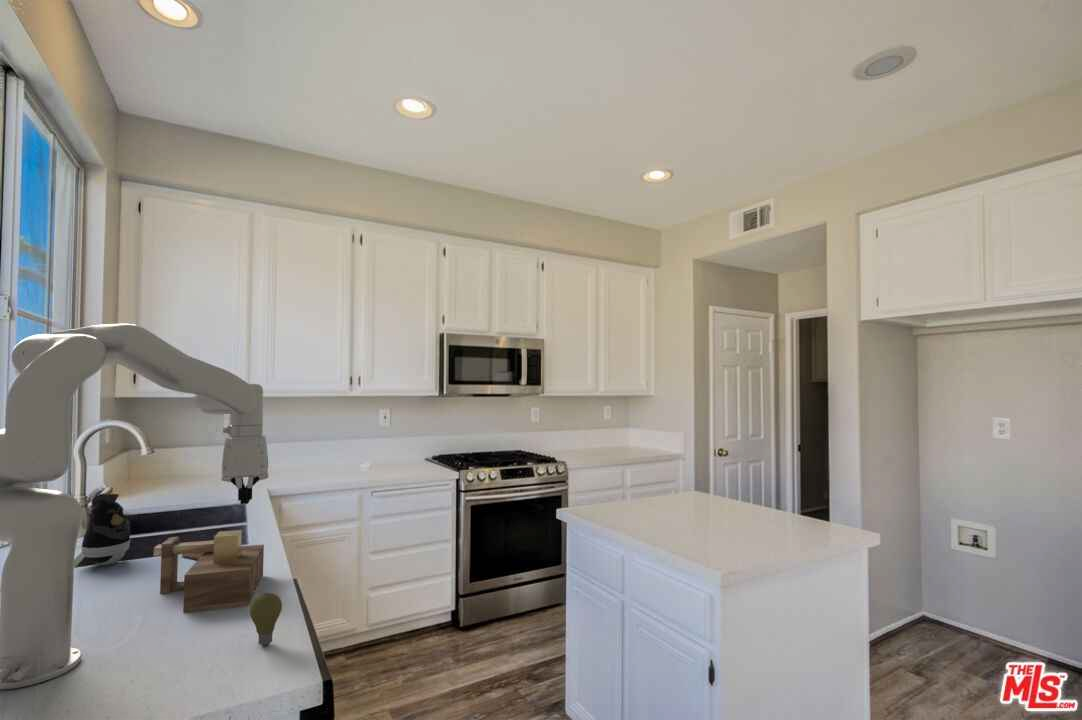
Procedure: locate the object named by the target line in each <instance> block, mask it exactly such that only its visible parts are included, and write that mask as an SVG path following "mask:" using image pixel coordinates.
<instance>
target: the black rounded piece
mask: <svg viewBox="0 0 1082 720" xmlns="http://www.w3.org/2000/svg"><path fill="white" fill-rule="evenodd" d="M118 498H119V493H118V494H117V493H109V492H108V493H107V492H106V493H105V492H104V493H99V494H97V495H95V496H94V497H93V498H92V500H91V506H92V508H91V511H90V513H89V514H87V515H88V517H89V523H88V526H87V529H86V530H85V533H84V535H83V538H82V542H81V546H80V549H81V555H82V556H83V557H85V558H86V559H87V560H89V562H91V563H93V564H94V563H95V564H96V565H98V566H110V565H112V564H114V563H117V562H119V561H120V560H121V559H123V557H124V556H125V554H126V552H127V551H128V550H129V548H130V544H131V536H130V535H131V526H130V525H131V522H130V520H128V519H127V518H126V516H125V514H124V507H123V506H122V505H121V504H120V503H119V502H116V500H117V499H118Z"/></svg>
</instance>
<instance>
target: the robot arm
mask: <svg viewBox="0 0 1082 720" xmlns="http://www.w3.org/2000/svg"><path fill="white" fill-rule="evenodd" d="M11 363H12V365H13V367H14V368H15V369H16V371H18V372H19V373H20V374H18V376H17V377H16V379H15V380H14V382H13V383H12V385H11V387H10V389H9V391H8V393H7V397H6V402H5V403H6V404H5V417H4V419H5V420H4V421H5V422H4V424H5V425H4V428H1V429H0V542H4V543H5V542H6V543H11V547H10V550H9V551H8V555H7V557H6V558H5V559H6V560H5V561H4V563H3V566H2V572H1V580H0V690H12V689H19V688H20V689H21V688H24V687H29V686H33V685H37V684H40V682H41V683H43V681H44V682H47V681H49V679H50V680H52V679H54V678H57V677H58V676H59V677H60V676H61V675H64V674H65V673H67V672H69V671H71V670H72V669H73V668H75V667H77V665H78V664H79V663H80V662H81V661H82V655H83V654H82V651H81V650H80V649H78V648H75V647H72V624H73V600H74V599H73V598H74V596H73V595H74V578H75V577H74V575H75V574H74V572H75V571H74V570H75V568H74V567H75V556H76V555H75V554H76V548H77V542H78V537H79V534H80V531H81V527H82V523H83V515H84V514H83V513H84V512H83V508H82V505H81V503H80V502H79V501H78V499H77V498H76V497H75V496H73V495H72V494H70V493H67V492H65V491H62V490H56V489H50V488H48V489H47V488H37V487H36V484H45V483H50V482H54V481H56V480H57V479H59V478H61V477H62V476H63V475H65V474H66V473H67V472H68V469H69V468H70V465H71V460H72V459H71V458H72V441H71V405H72V400H73V397H74V395H75V394H76V392H77V390H78V388H80V386H81V385H83V383H85V382H86V381H87V380H88V379H89V378H90V377H92V376H94V375H95V374H96V373H98V372H99V371H100V370H101V369H102V367H104V365H119V366H122V367H125V368H127V369H128V370H130V371H132V372H134V373H136V374H138V375H139V376H141V377H143V378H145V379H146V380H148V381H150V382H152V383H154V384H156V386H160V387H161V388H163V389H167V390H171V391H174V392H179V393H184V394H191V395H194V398H193V399H194V404H195V406H196V407H197V408H198V409H199V410H200V411H201V412H203V413H205V414H209V415H211V414H212V415H229V425H228V426H226V427H223V429H222V432H223V434H227V435H228V437H225V439H224V445H223V450H222V462H221V481H222V482H226V483H232V485H234V486H235V487H236V488H237V491H238V492H237V498H238V499H237V501H240V505H244V504H245V505H249V503H250V500H253V487H254V485H255V484H256V483H258V482H259V481H264V480H267V479H268V478H269V476H270V475H269V471H268V470H269V469H268V468H269V456H268V446H267V445H268V443H267V439H266V435H263V424H264V423H263V421H264V417H263V415H264V414H263V413H264V412H263V410H264V409H263V408H264V389H263V386H262V385H261V384H258V383H248V382H246V380H244V379H242V378H241V377H239V376H238V375H236V374H234V373H232V372H230V371H229V370H226V369H224V368H221V367H219V366H216V365H213V364H210V363H208V362H205V361H203V360H201V359H198V358H195V357H192V356H190V355H187V354H186V353H185V352H183V351H181V350H180V349H179V348H176V347H175V346H173V345H172V344H170V343H168V342H167V341H165V340H163V339H162V338H161V337H159V336H158V335H156V334H154V333H153V332H151V331H149V330H148V329H147V328H145V327H143V326H140V325H137V324H132V323H110V324H109V323H108V324H107V323H106V324H105V323H104V324H95V325H90V326H84V327H78V328H74V329H73V328H72V329H66V330H60V331H53V332H48V333H40V334H34V335H31V336H28V337H26V338H24V339H22V340H20V341H19V342H18V343H17V344H16V345H15V346H14V347H13V350H12V352H11ZM247 477H248V478H247ZM244 478H247V483H246V484H245V483H244V482H245V481H244ZM46 680H47V681H46Z"/></svg>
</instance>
